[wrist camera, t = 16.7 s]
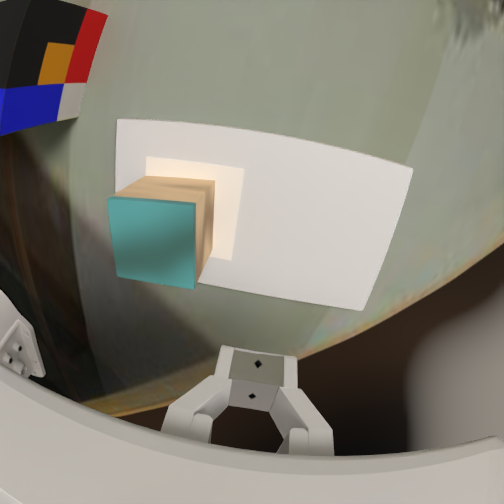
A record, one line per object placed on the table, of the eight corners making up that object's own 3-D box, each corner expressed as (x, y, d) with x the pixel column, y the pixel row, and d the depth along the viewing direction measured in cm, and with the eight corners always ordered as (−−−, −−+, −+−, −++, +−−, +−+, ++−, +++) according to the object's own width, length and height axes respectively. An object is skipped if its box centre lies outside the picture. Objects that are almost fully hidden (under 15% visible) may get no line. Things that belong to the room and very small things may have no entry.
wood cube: (117, 276, 21) (148, 240, 26) (193, 289, 20) (212, 249, 26) (107, 198, 18) (144, 175, 23) (193, 206, 17) (215, 180, 23)
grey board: (360, 304, 28) (362, 311, 27) (123, 260, 28) (119, 265, 28) (409, 166, 21) (414, 169, 20) (123, 118, 22) (116, 119, 21)
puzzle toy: (79, 116, 22) (-1, 136, 13) (17, 104, 21) (-54, 122, 12) (108, 15, 17) (32, -6, 8) (38, 17, 17) (-32, 12, 8)
